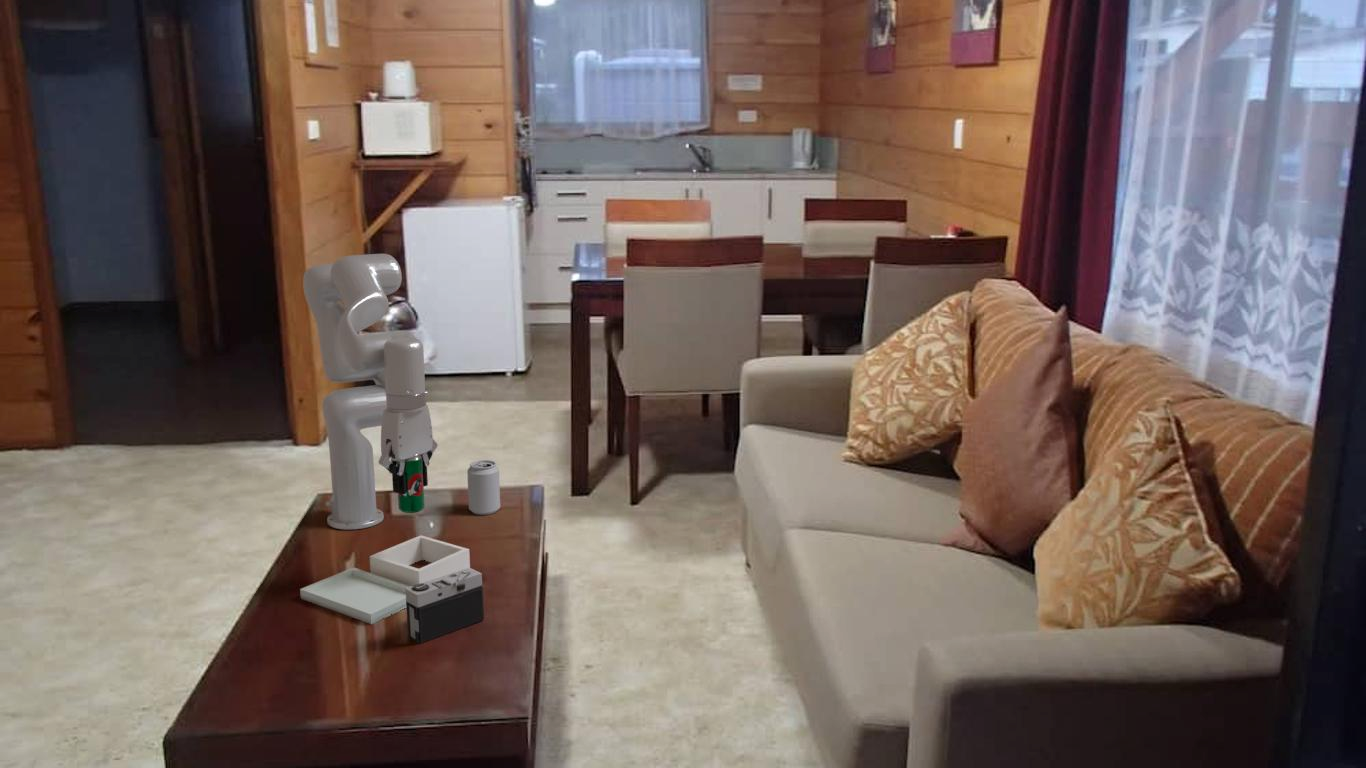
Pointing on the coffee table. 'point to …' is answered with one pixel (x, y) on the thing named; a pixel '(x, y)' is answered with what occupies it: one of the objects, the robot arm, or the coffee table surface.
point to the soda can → (412, 486)
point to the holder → (419, 548)
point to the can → (483, 487)
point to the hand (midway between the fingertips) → (410, 487)
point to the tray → (358, 595)
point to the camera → (444, 605)
